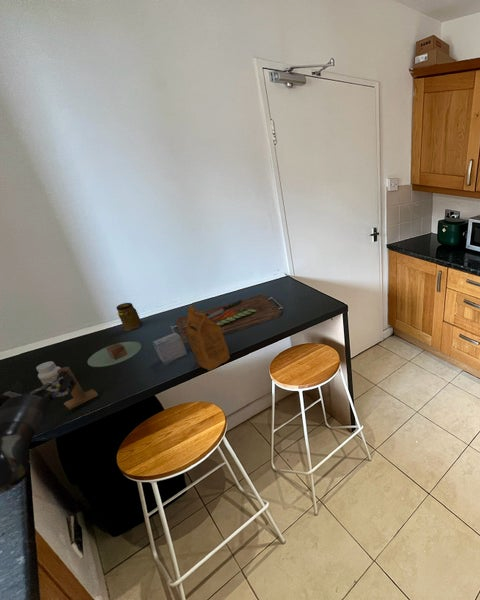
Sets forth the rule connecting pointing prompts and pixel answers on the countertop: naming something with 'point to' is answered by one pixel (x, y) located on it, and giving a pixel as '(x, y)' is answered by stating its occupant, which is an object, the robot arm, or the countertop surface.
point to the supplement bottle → (48, 372)
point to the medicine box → (169, 347)
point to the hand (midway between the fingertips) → (42, 379)
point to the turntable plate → (104, 358)
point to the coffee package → (206, 340)
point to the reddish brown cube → (116, 351)
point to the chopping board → (236, 315)
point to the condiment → (129, 317)
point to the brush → (78, 395)
